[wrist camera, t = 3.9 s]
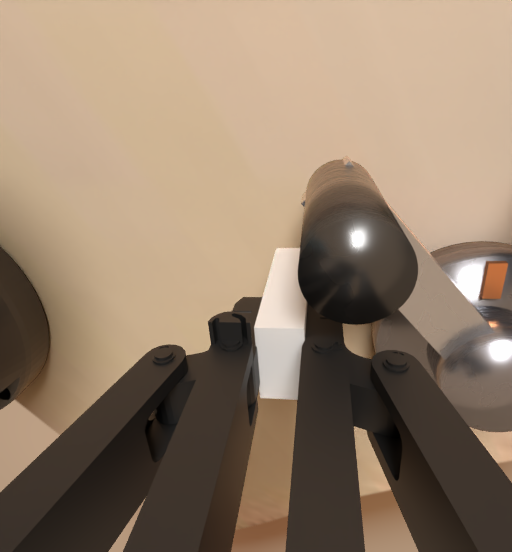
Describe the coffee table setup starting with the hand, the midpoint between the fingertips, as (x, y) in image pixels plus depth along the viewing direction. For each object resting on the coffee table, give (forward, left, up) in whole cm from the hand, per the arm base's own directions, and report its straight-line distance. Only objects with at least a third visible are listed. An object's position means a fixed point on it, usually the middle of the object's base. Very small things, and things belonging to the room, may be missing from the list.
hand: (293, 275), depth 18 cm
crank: (+6, -1, -1) cm, 6 cm away
